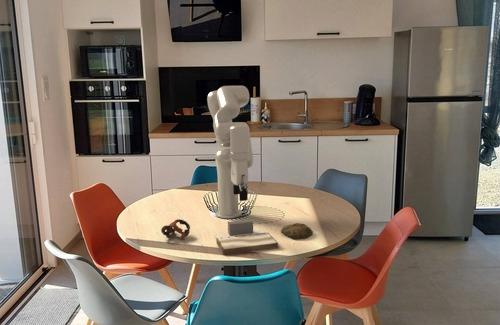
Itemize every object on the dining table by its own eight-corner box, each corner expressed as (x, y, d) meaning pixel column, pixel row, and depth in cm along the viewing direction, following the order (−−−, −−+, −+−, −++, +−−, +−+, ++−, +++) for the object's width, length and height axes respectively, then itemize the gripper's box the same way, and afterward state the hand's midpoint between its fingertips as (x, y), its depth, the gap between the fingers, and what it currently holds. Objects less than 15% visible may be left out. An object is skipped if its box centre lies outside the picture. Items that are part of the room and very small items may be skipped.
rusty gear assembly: (178, 231, 205) (186, 217, 202) (187, 247, 199) (195, 232, 196) (154, 231, 197) (162, 216, 194) (162, 247, 191) (171, 232, 188)
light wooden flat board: (216, 243, 191) (216, 237, 190) (268, 237, 196) (268, 231, 196) (223, 254, 179) (223, 249, 179) (278, 248, 185) (278, 242, 185)
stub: (214, 237, 197) (214, 222, 195) (262, 231, 202) (262, 217, 201) (217, 242, 191) (217, 226, 190) (267, 236, 197) (267, 221, 195)
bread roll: (293, 242, 192) (293, 230, 191) (277, 232, 203) (277, 221, 201) (318, 236, 198) (319, 225, 197) (301, 227, 209) (301, 216, 207)
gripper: (225, 152, 196) (226, 192, 200) (236, 160, 180) (236, 204, 183) (243, 151, 198) (243, 191, 202) (255, 159, 182) (255, 202, 186)
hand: (240, 197), depth 193 cm, fingers open, 9 cm apart
